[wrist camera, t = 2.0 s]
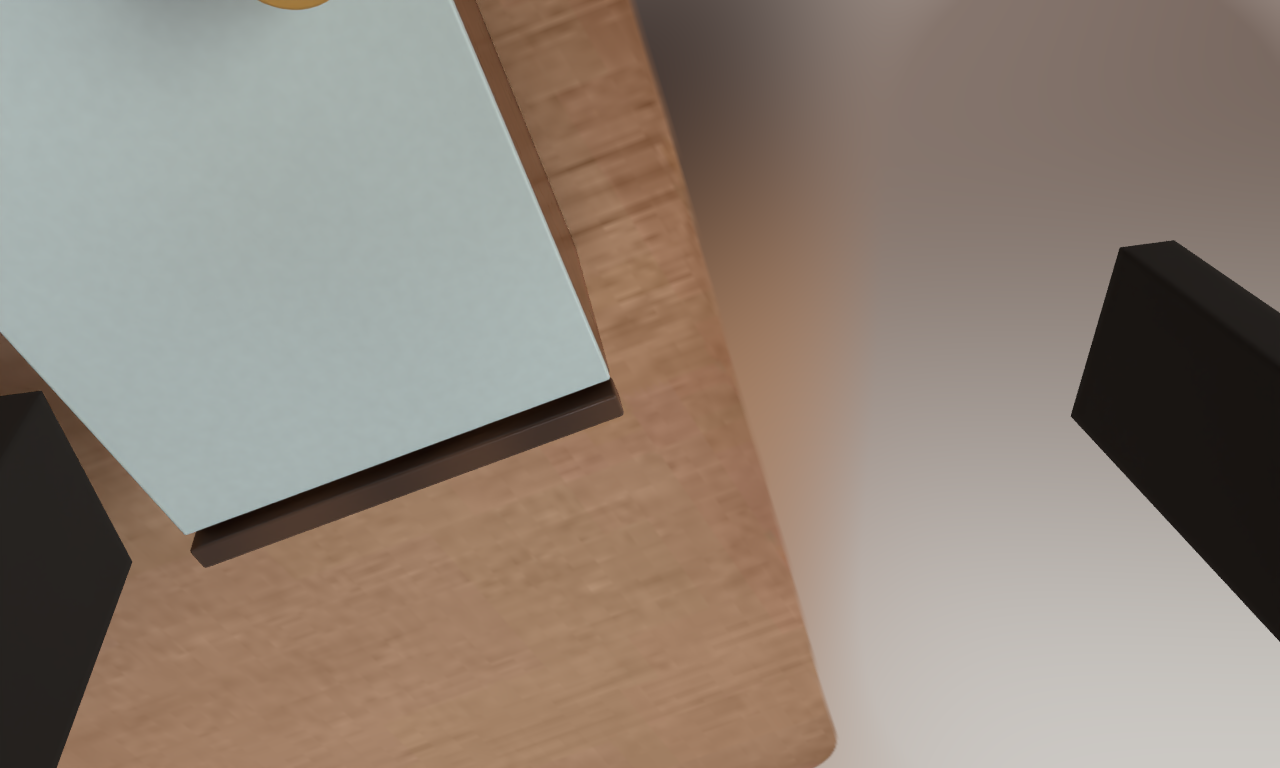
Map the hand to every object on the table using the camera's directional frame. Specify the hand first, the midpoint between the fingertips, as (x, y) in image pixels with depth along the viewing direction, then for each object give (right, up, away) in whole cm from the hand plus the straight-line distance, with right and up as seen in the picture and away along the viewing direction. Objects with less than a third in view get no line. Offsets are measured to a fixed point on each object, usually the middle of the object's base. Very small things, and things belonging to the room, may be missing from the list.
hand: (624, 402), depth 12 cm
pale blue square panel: (-9, +4, +10) cm, 14 cm away
